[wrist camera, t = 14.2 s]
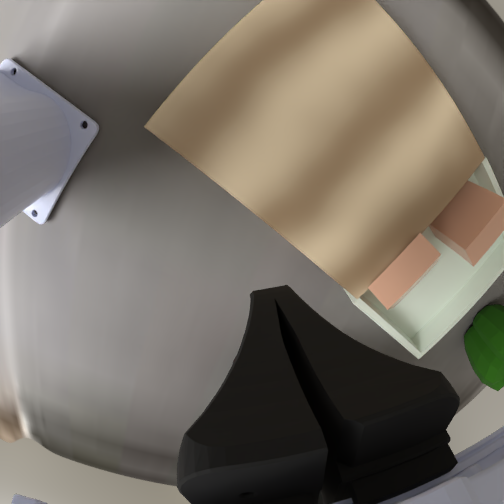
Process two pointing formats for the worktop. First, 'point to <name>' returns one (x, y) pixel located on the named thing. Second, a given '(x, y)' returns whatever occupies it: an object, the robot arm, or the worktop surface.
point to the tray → (439, 288)
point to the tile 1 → (405, 272)
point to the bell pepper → (487, 346)
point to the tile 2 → (470, 222)
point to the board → (324, 131)
